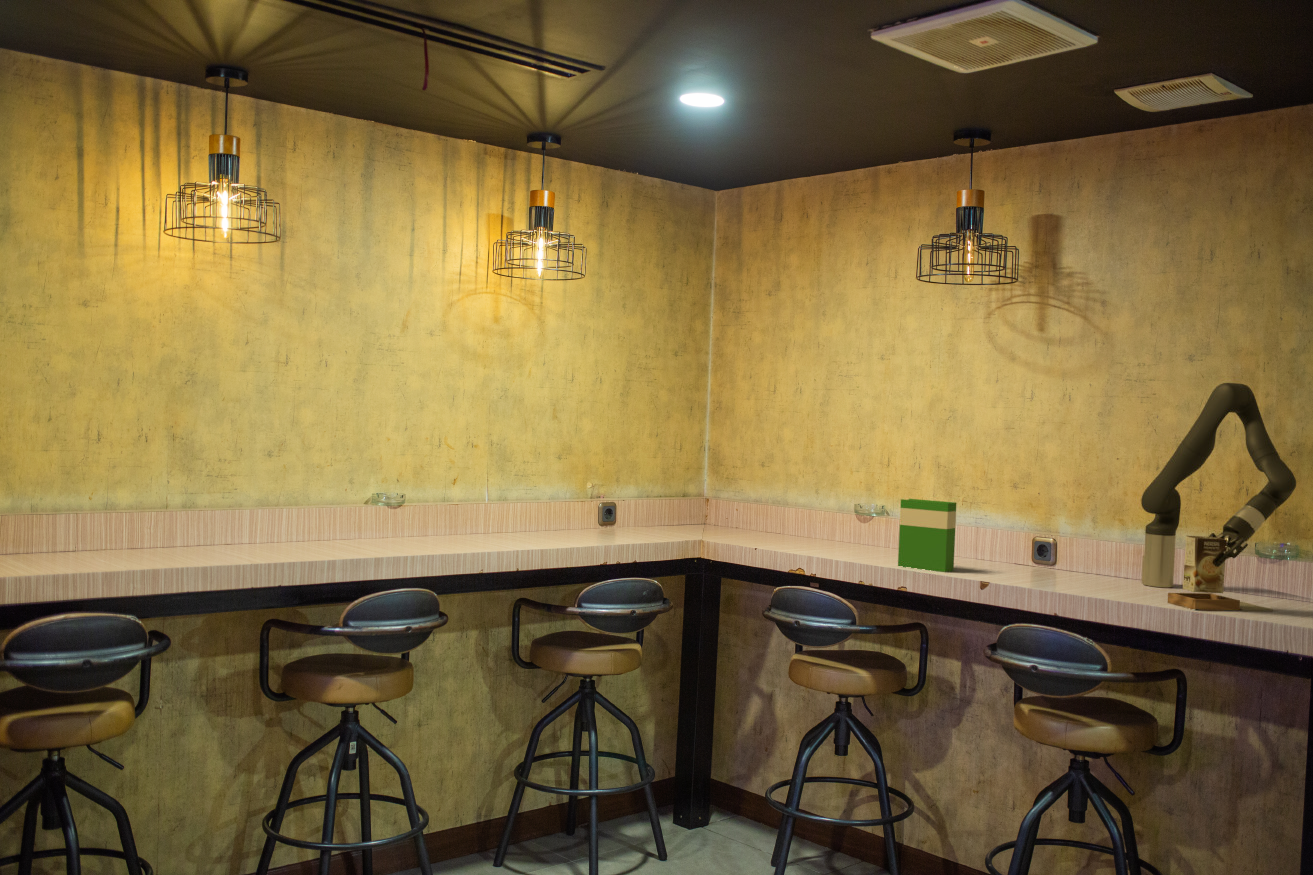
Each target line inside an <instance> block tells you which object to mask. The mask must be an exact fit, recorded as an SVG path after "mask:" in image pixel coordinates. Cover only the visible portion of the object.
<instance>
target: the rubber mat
mask: <svg viewBox="0 0 1313 875" xmlns="http://www.w3.org/2000/svg"><path fill="white" fill-rule="evenodd" d="M1241 610H1242V612H1274V609H1273V608H1268V607H1264V606H1260V605H1257V604H1252V603H1249V602H1244V601H1240V610H1239V611H1241Z"/></svg>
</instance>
